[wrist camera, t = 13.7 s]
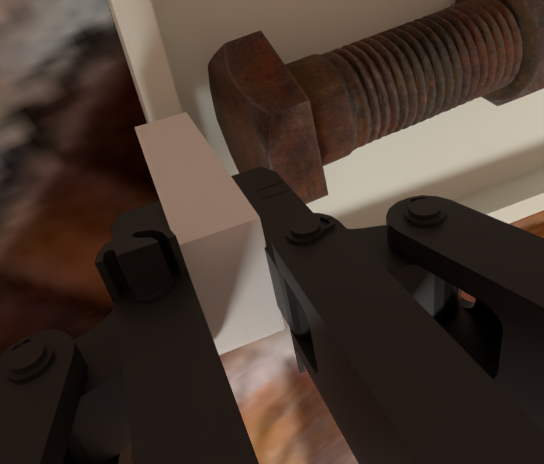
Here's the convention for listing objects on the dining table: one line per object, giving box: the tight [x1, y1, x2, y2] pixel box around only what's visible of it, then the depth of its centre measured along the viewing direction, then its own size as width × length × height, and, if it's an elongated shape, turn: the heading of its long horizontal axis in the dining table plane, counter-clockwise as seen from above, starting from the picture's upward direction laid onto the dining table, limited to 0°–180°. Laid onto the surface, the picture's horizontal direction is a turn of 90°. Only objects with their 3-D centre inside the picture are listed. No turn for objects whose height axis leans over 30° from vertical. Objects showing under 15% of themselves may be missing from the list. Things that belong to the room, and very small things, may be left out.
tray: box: [107, 0, 544, 229], centre depth 18 cm, size 16×21×3 cm
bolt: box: [208, 0, 544, 204], centre depth 17 cm, size 6×5×15 cm
